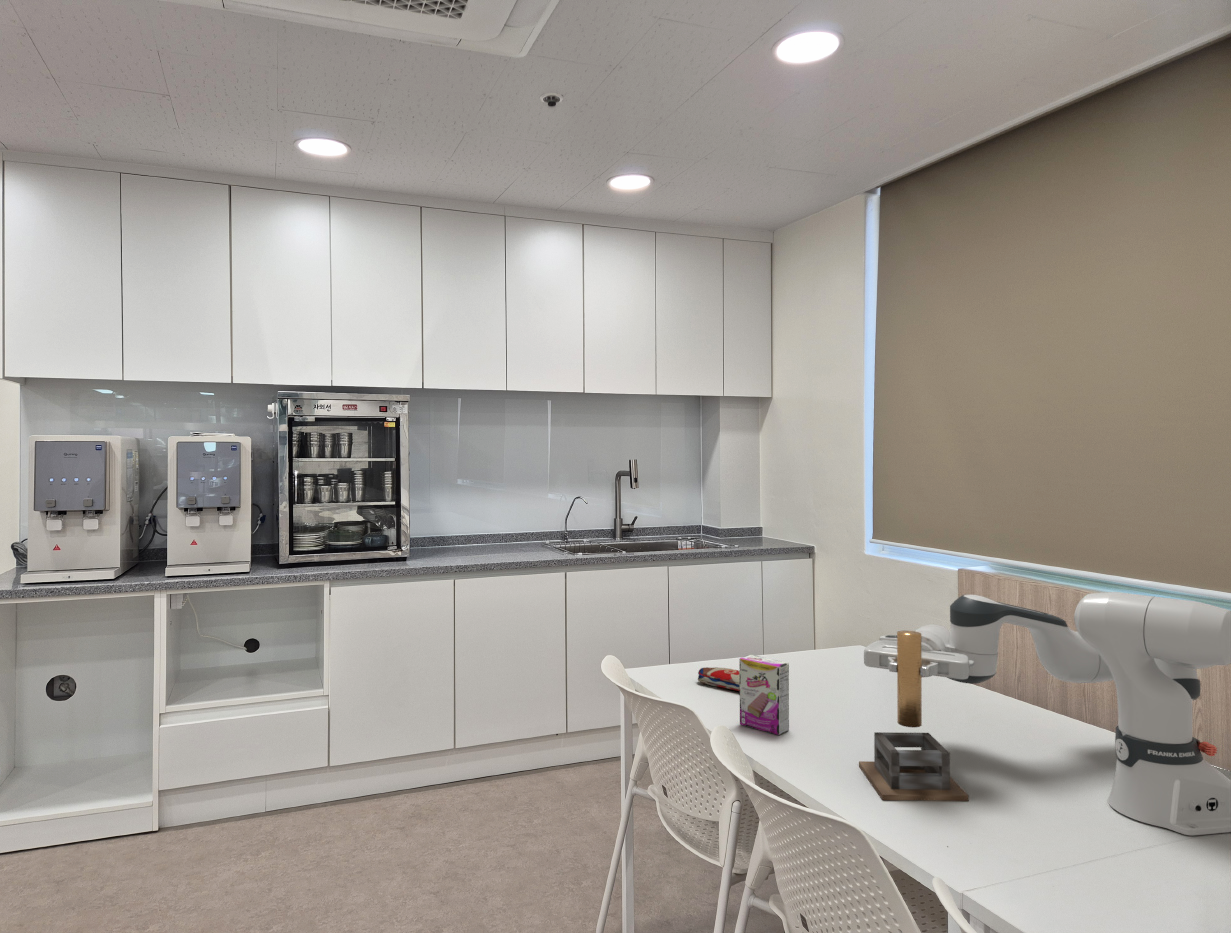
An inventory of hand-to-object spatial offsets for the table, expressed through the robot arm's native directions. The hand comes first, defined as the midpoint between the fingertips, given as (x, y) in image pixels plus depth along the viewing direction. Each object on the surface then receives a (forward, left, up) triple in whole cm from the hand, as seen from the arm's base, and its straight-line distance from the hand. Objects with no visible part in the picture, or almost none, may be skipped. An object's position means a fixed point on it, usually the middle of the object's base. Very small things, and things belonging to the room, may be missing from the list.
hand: (908, 670), depth 152 cm
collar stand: (-1, -1, -23) cm, 23 cm away
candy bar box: (+24, -31, -23) cm, 45 cm away
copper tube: (0, -1, -11) cm, 11 cm away
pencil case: (+28, -64, -23) cm, 74 cm away
